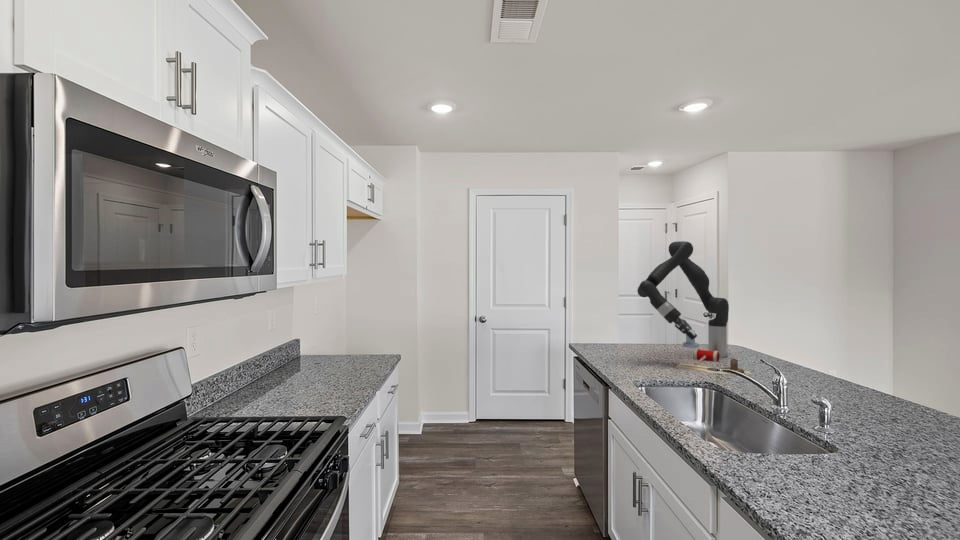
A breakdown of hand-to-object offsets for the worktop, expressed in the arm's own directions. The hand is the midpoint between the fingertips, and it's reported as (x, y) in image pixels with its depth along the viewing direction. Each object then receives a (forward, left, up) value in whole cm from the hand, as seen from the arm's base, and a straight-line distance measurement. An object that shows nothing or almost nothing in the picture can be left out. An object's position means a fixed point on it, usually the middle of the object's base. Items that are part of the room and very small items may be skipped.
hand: (694, 337), depth 218 cm
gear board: (0, +8, -16) cm, 18 cm away
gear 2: (0, +17, -15) cm, 23 cm away
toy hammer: (-20, +1, -17) cm, 26 cm away
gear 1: (0, -2, -5) cm, 5 cm away
